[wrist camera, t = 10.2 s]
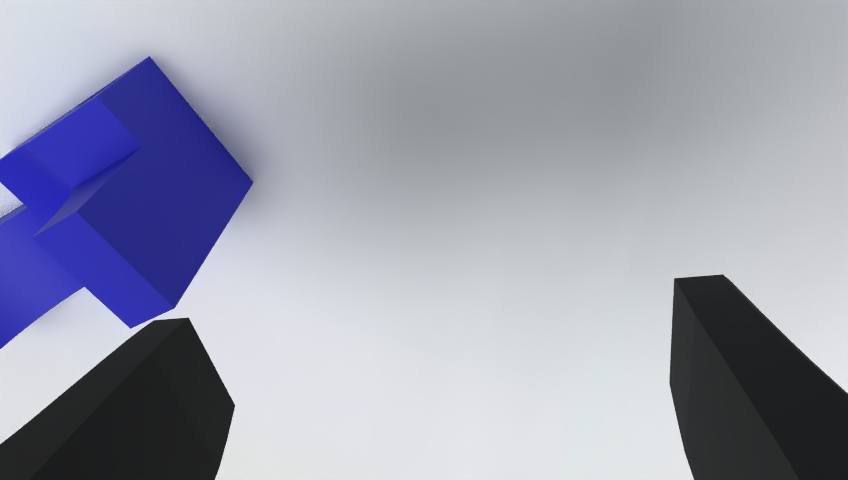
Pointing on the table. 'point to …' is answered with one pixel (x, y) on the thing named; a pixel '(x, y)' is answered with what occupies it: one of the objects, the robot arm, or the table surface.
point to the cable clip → (114, 204)
